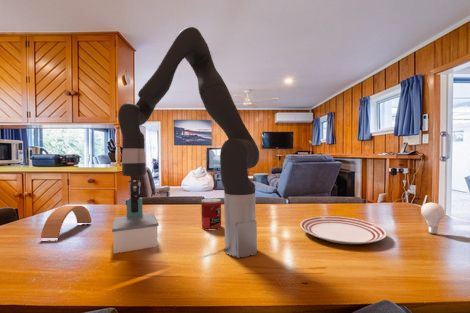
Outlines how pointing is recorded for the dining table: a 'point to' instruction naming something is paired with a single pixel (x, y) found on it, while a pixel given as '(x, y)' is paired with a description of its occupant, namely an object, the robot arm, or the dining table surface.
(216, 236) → the dining table surface
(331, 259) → the dining table surface
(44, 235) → the arch
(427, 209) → the lightbulb
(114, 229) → the lid
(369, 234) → the dinner plate
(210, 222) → the canned food
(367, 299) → the dining table surface
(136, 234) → the tub
